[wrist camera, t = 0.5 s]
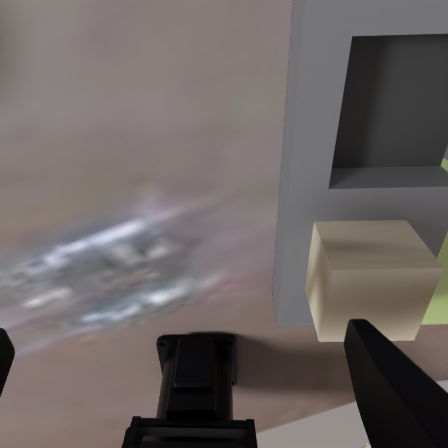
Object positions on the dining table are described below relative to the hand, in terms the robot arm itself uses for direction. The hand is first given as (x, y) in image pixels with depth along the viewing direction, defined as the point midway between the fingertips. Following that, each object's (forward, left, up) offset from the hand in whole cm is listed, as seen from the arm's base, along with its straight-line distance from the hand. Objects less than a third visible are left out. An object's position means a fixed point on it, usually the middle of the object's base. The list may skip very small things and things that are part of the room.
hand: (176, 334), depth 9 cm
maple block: (-6, -9, -10) cm, 14 cm away
